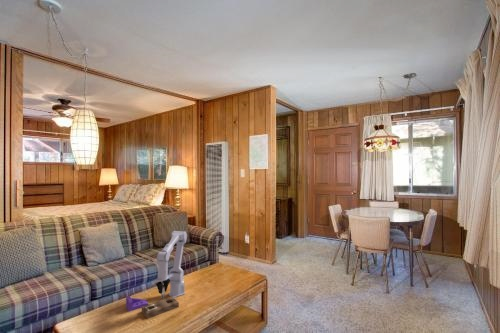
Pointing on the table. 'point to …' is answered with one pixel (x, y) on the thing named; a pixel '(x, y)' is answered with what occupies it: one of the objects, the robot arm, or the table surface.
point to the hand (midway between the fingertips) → (162, 292)
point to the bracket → (135, 303)
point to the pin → (163, 292)
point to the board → (160, 307)
